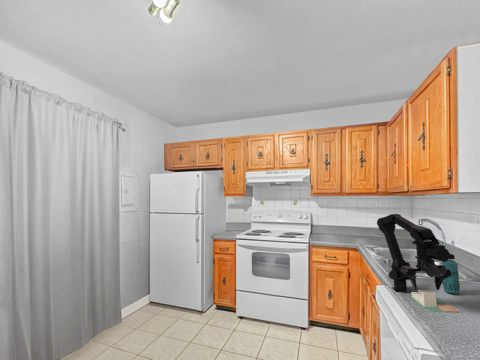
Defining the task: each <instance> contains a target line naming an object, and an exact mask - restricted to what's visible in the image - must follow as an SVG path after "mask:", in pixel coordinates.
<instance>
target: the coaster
mask: <svg viewBox="0 0 480 360" xmlns="http://www.w3.org/2000/svg"><path fill="white" fill-rule="evenodd" d="M437 307H438V308H440V309H441V310H443V311H444V312H443V313H447V312H460V310H458V309H457V308H456V307H454V306H452V305H451V304H448V305H440V304H437ZM460 313H461V312H460Z"/></svg>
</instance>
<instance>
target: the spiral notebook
mask: <svg viewBox="0 0 480 360" xmlns="http://www.w3.org/2000/svg"><path fill="white" fill-rule="evenodd" d="M411 296H412V297H413V298H414V299H415V300H417V301H418V302H419V291H418V292H416V291H415V292H414V291H412V292H411Z"/></svg>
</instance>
